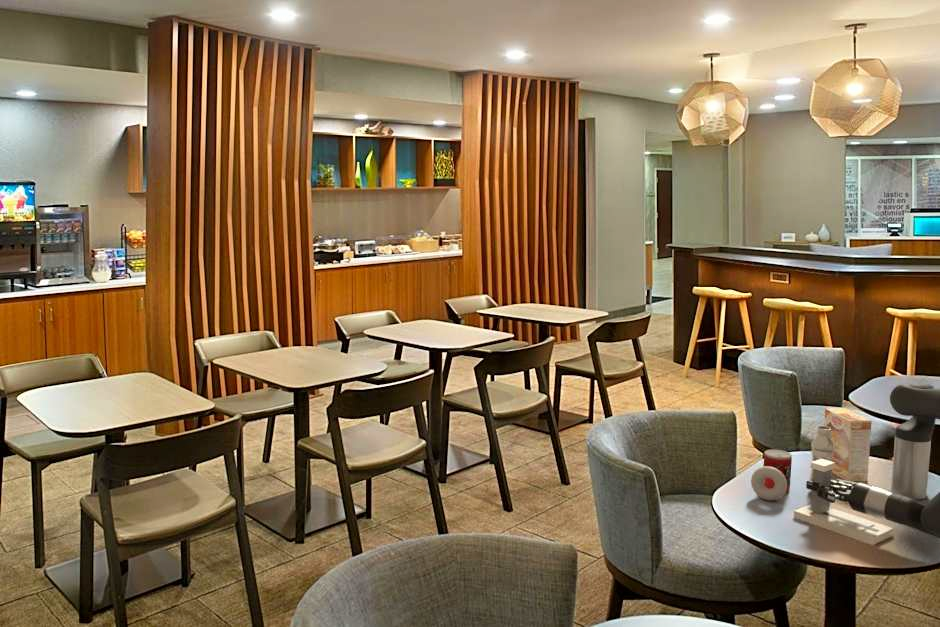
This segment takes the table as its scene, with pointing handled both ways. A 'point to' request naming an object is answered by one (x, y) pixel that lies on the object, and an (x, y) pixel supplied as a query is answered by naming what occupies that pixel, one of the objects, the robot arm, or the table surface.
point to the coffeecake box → (849, 443)
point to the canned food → (778, 465)
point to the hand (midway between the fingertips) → (812, 482)
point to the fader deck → (846, 524)
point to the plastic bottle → (822, 446)
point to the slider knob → (821, 476)
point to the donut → (772, 474)
